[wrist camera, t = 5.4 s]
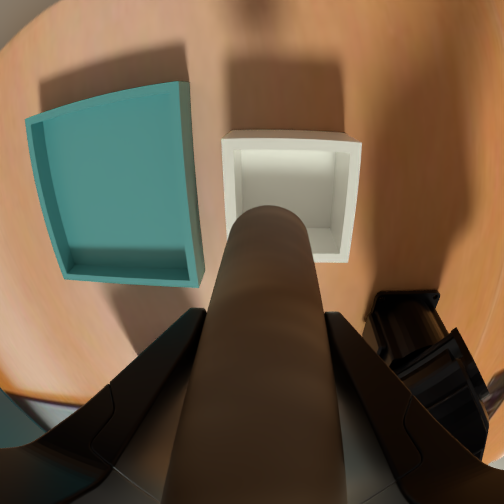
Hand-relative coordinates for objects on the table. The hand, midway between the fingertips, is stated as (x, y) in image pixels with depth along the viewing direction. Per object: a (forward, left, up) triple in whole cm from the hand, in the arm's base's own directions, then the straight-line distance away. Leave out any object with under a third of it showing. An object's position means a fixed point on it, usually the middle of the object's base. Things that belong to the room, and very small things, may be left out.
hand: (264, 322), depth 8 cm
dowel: (0, 0, -5) cm, 4 cm away
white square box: (-1, 0, -13) cm, 13 cm away
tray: (+11, 0, -13) cm, 17 cm away
